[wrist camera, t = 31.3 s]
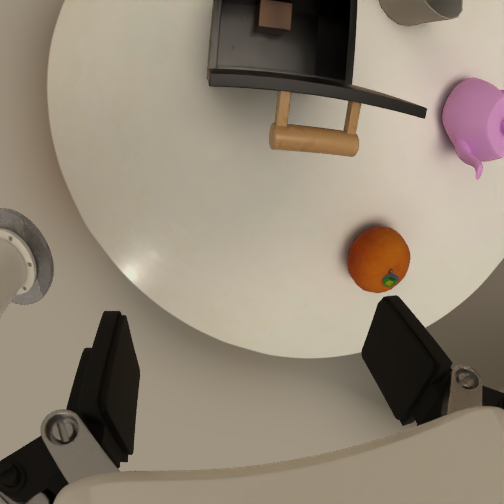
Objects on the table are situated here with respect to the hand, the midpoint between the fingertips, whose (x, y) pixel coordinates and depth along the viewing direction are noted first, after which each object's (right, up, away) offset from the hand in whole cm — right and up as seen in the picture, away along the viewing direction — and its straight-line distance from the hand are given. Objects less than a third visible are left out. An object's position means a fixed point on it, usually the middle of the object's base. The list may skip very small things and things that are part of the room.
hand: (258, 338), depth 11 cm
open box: (+2, +30, +23) cm, 38 cm away
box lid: (+4, +16, +10) cm, 20 cm away
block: (+2, +32, +21) cm, 38 cm away
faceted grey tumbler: (+22, +41, +21) cm, 51 cm away
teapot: (+36, +26, +31) cm, 54 cm away
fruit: (+19, +4, +40) cm, 45 cm away
